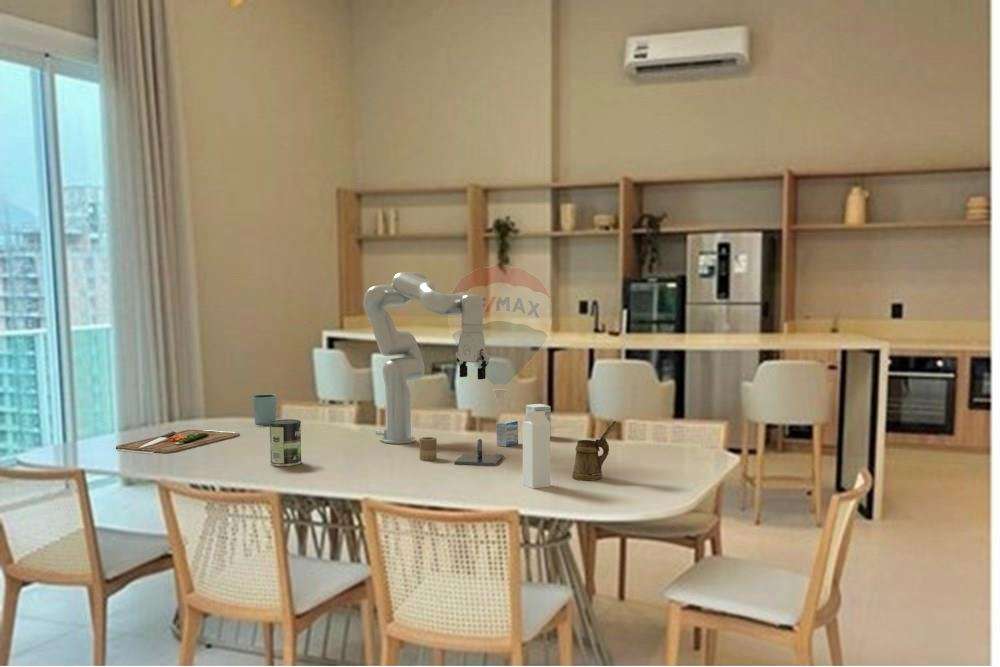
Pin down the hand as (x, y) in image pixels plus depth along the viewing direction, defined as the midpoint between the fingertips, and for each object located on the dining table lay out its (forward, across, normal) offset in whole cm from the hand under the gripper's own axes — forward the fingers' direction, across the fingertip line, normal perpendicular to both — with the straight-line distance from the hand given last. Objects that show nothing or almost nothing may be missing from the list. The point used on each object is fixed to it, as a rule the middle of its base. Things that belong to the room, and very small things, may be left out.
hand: (472, 378), depth 302 cm
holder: (+26, +13, -8) cm, 31 cm away
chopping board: (+27, -92, -67) cm, 117 cm away
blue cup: (+27, -110, -23) cm, 115 cm away
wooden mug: (+26, +57, 0) cm, 63 cm away
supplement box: (+27, -4, +37) cm, 46 cm away
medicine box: (+27, -1, +18) cm, 32 cm away
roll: (+26, -1, -19) cm, 33 cm away
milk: (+26, +52, -20) cm, 61 cm away
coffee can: (+27, -29, -58) cm, 70 cm away
